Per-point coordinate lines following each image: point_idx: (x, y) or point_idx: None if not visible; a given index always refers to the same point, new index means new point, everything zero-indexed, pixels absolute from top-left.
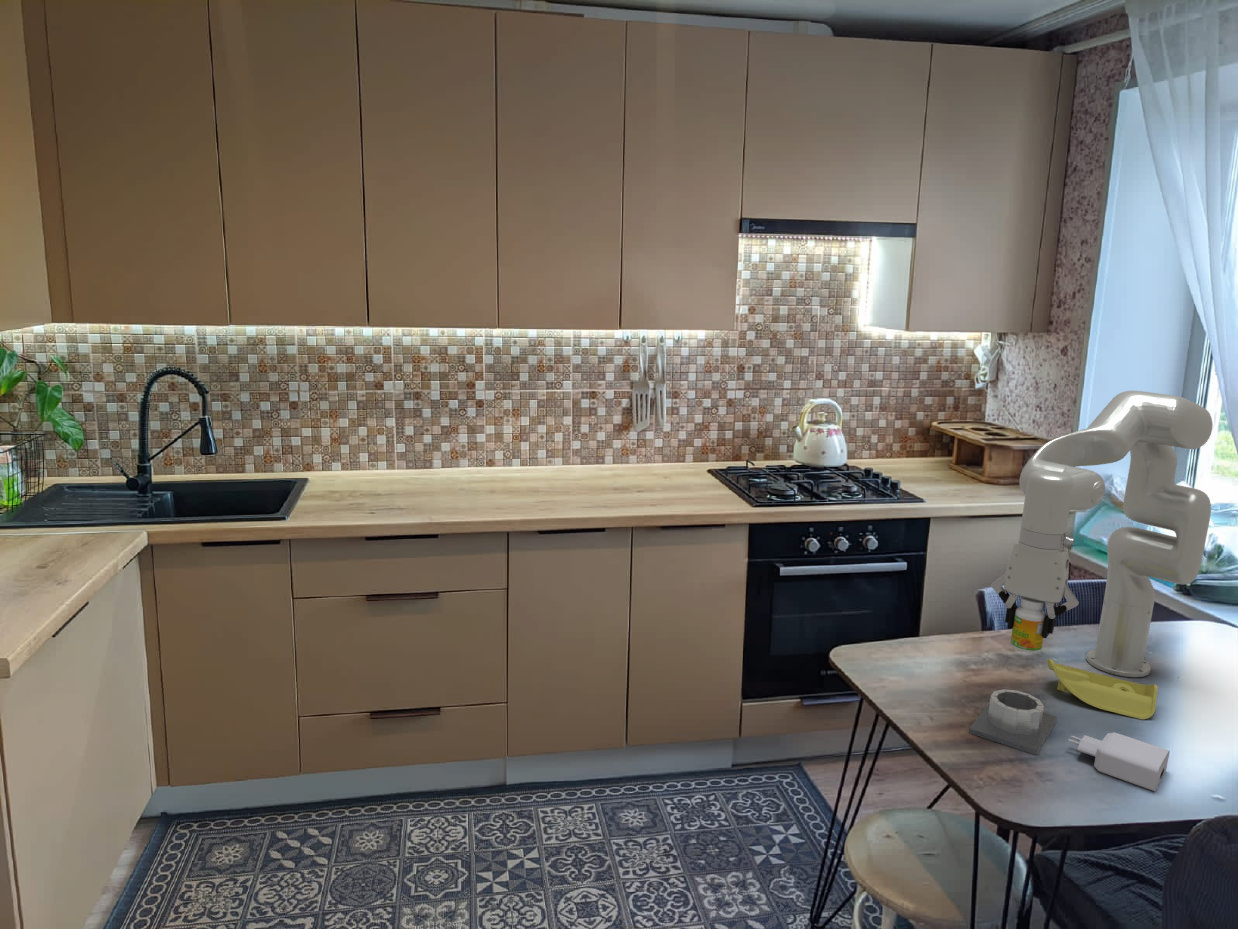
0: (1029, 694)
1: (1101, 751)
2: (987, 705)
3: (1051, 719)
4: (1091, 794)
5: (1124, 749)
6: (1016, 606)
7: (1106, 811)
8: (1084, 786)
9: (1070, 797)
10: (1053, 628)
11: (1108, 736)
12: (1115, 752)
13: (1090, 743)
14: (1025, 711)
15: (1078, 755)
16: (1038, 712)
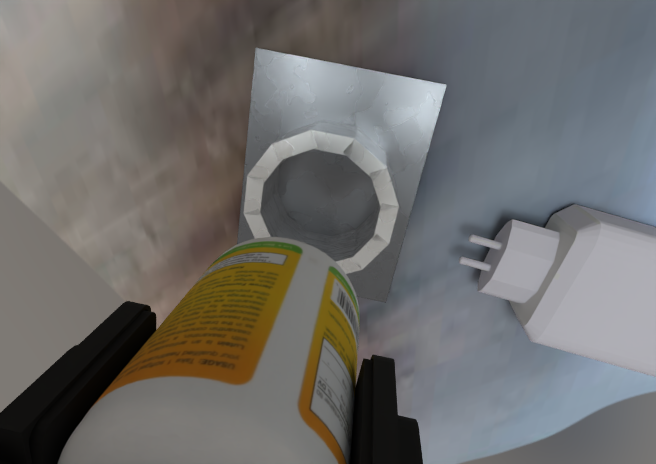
0: (353, 140)
1: (532, 340)
2: (250, 118)
3: (427, 114)
4: (483, 389)
5: (597, 327)
6: (32, 448)
7: (501, 428)
8: (474, 369)
9: (442, 411)
10: (416, 443)
11: (572, 267)
12: (567, 345)
13: (513, 286)
14: (346, 269)
15: (480, 253)
16: (382, 249)
